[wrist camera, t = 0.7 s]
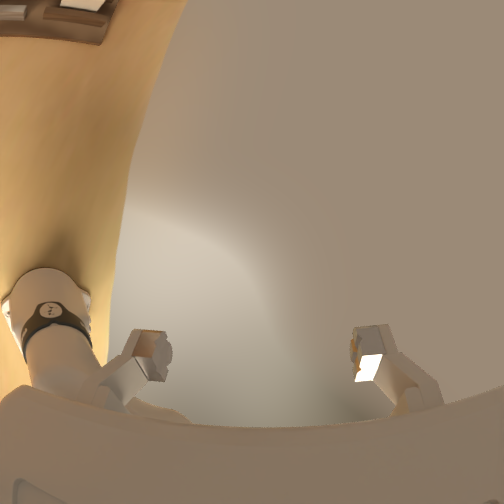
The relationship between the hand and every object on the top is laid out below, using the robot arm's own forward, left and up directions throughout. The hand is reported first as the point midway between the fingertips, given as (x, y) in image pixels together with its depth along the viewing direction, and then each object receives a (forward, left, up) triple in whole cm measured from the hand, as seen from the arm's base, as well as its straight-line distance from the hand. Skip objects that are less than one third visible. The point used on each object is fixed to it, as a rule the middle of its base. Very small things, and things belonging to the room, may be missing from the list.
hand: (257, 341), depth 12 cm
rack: (+26, +14, -43) cm, 52 cm away
